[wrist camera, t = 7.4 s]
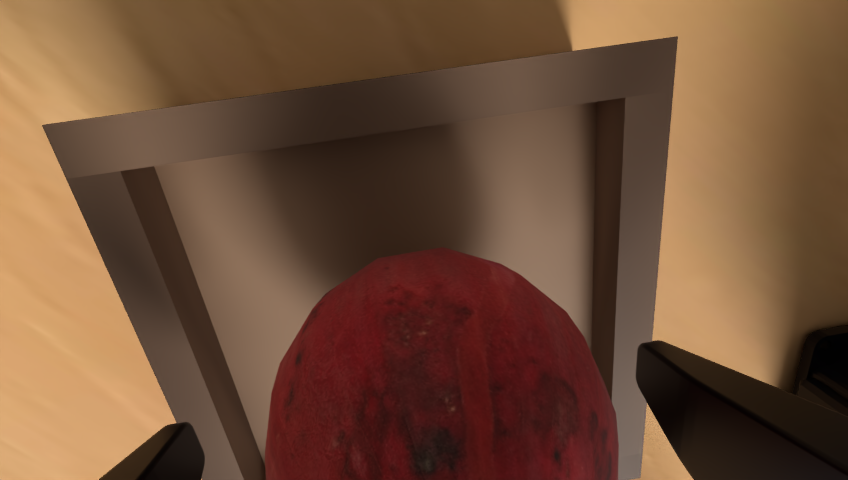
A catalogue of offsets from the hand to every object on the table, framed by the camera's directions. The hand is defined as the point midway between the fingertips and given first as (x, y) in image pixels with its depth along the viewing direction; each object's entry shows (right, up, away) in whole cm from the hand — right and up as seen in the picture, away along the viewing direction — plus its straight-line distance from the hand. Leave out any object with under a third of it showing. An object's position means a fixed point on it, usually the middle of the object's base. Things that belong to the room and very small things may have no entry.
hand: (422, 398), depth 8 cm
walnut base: (-1, +2, +6) cm, 6 cm away
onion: (0, +1, +3) cm, 3 cm away
